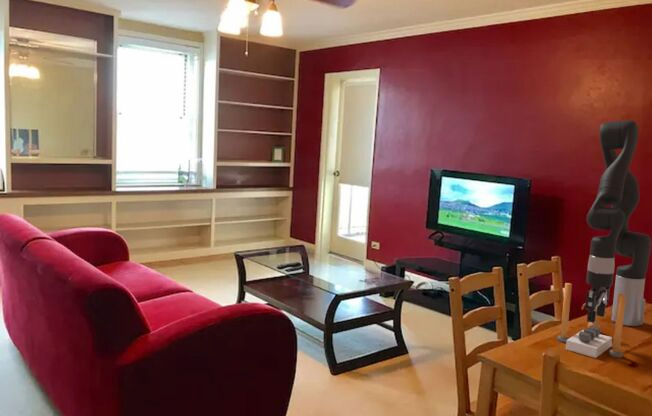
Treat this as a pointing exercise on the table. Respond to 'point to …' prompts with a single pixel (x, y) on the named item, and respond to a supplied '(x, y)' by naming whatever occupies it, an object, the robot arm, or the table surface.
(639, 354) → the table surface
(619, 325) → the post
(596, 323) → the figurine
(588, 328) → the paddle
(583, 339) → the paddle
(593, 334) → the paddle mid
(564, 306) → the post
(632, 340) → the table surface
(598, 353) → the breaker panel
